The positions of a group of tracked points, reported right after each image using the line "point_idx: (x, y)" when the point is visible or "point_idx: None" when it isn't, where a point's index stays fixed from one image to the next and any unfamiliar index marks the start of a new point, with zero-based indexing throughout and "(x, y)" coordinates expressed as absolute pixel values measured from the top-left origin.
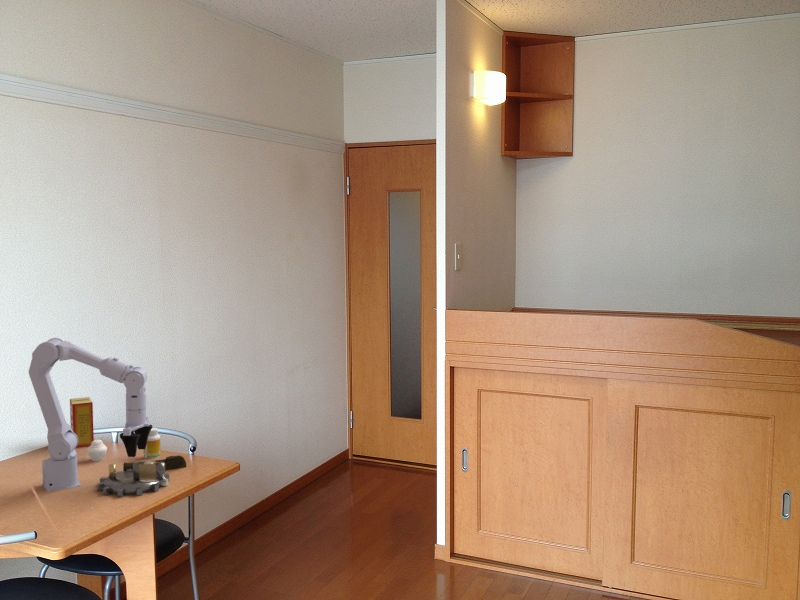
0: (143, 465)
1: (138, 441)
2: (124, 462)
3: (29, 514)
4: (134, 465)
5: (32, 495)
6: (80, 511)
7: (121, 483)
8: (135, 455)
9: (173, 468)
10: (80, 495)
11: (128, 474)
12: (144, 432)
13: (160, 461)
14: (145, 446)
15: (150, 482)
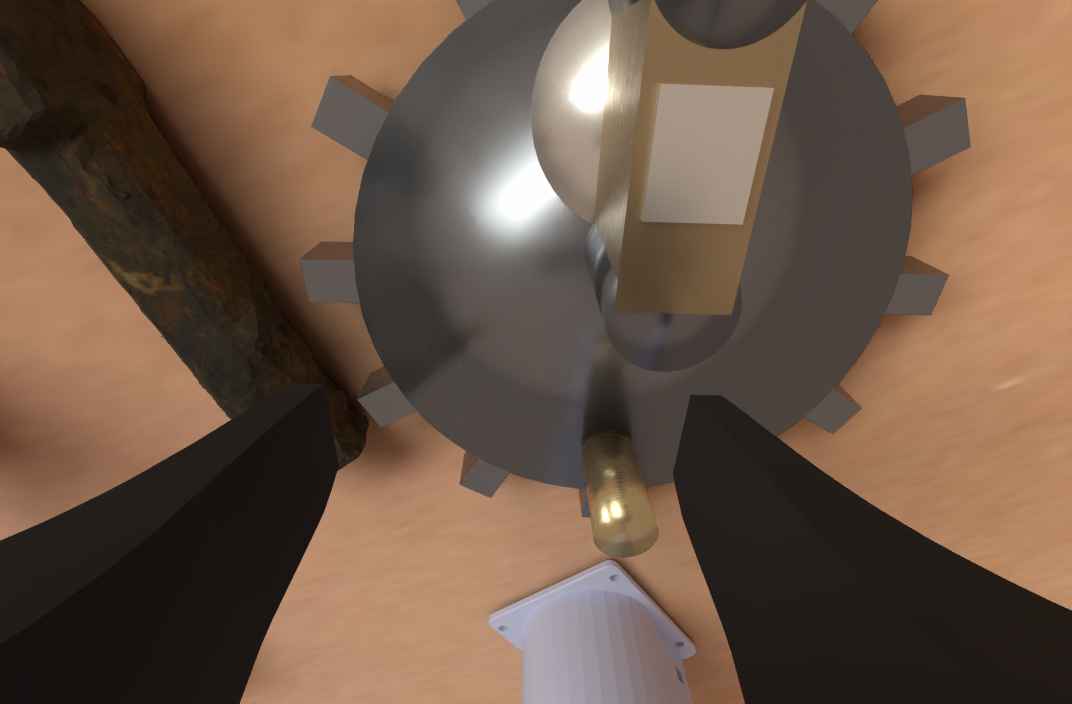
0: (745, 215)
1: (286, 559)
2: None
3: None
4: (723, 330)
5: (717, 675)
6: (1060, 423)
7: (757, 344)
8: (703, 398)
9: (88, 27)
10: None
11: (518, 370)
12: (118, 670)
13: (114, 188)
14: (300, 399)
15: None
